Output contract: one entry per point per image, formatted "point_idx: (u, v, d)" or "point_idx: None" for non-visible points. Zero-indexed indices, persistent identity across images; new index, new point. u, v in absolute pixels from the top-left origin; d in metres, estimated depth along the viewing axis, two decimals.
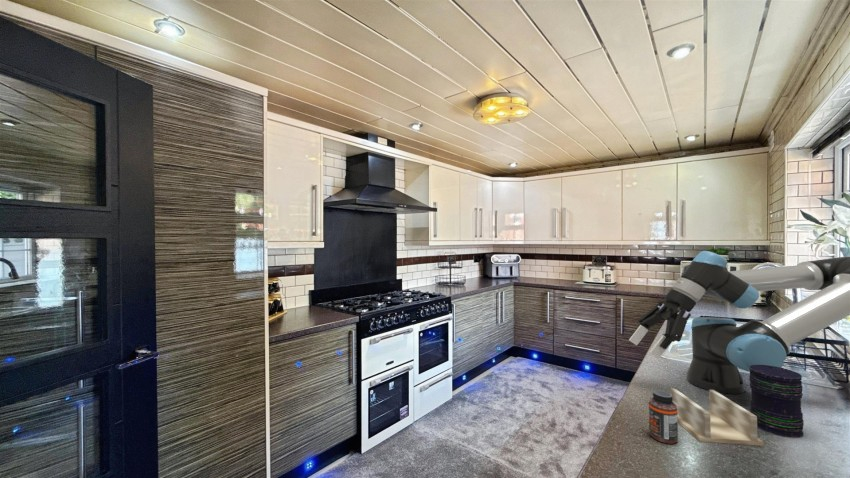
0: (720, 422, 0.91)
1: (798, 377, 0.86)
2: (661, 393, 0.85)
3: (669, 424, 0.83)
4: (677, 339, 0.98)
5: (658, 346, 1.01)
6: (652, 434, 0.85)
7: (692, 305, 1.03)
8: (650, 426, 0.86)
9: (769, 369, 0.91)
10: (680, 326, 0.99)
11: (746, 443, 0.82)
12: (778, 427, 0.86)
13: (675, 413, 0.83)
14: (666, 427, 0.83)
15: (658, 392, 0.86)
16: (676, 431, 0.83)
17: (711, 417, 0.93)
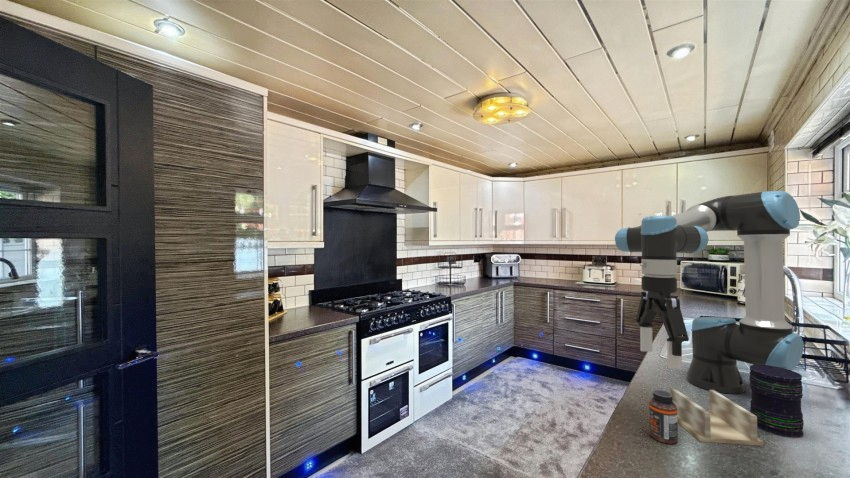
0: (720, 422, 0.91)
1: (798, 377, 0.86)
2: (661, 393, 0.85)
3: (670, 424, 0.83)
4: (684, 339, 0.77)
5: (671, 355, 0.79)
6: (652, 434, 0.85)
7: (674, 284, 0.83)
8: (650, 426, 0.86)
9: (769, 369, 0.91)
10: (678, 321, 0.78)
11: (746, 443, 0.82)
12: (778, 427, 0.86)
13: (675, 413, 0.83)
14: (666, 427, 0.83)
15: (658, 392, 0.86)
16: (676, 431, 0.83)
17: (711, 417, 0.93)
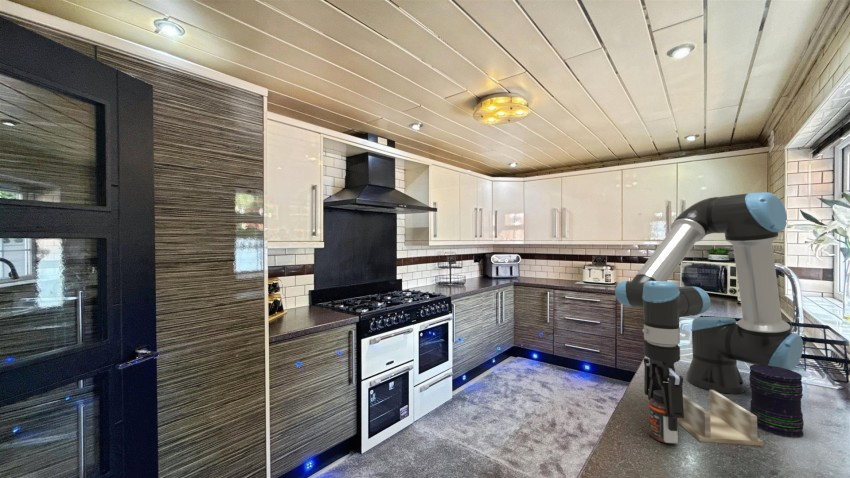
0: (720, 422, 0.91)
1: (798, 377, 0.86)
2: (661, 393, 0.85)
3: None
4: (680, 417, 0.79)
5: (668, 430, 0.82)
6: (651, 434, 0.85)
7: (677, 353, 0.82)
8: (650, 426, 0.86)
9: (769, 369, 0.91)
10: (677, 399, 0.79)
11: (746, 443, 0.82)
12: (778, 427, 0.86)
13: None
14: None
15: (658, 392, 0.86)
16: None
17: (711, 417, 0.93)
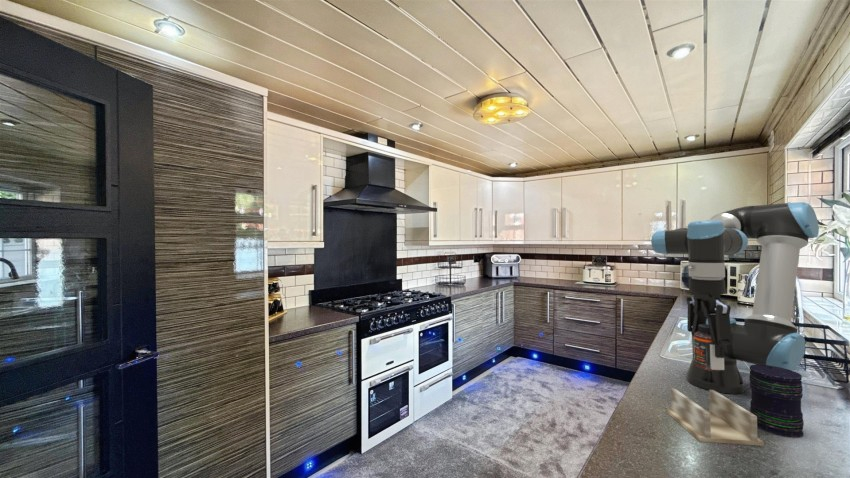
0: (720, 422, 0.91)
1: (798, 377, 0.86)
2: (706, 325, 0.90)
3: None
4: (727, 343, 0.84)
5: (714, 357, 0.87)
6: (697, 364, 0.90)
7: (723, 286, 0.87)
8: (696, 357, 0.91)
9: (769, 369, 0.91)
10: (725, 327, 0.84)
11: (746, 443, 0.82)
12: (778, 427, 0.86)
13: None
14: None
15: (703, 325, 0.91)
16: None
17: (711, 417, 0.93)
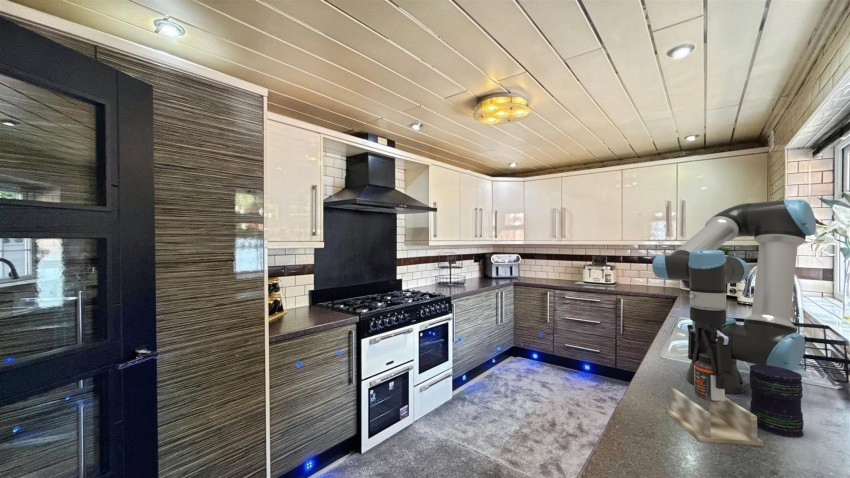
0: (720, 422, 0.91)
1: (798, 377, 0.86)
2: (707, 355, 0.90)
3: None
4: (728, 375, 0.84)
5: (715, 388, 0.87)
6: (698, 394, 0.90)
7: (724, 316, 0.87)
8: (696, 386, 0.91)
9: (769, 369, 0.91)
10: (726, 358, 0.84)
11: (746, 443, 0.82)
12: (778, 427, 0.86)
13: None
14: None
15: (704, 354, 0.91)
16: None
17: (711, 417, 0.93)
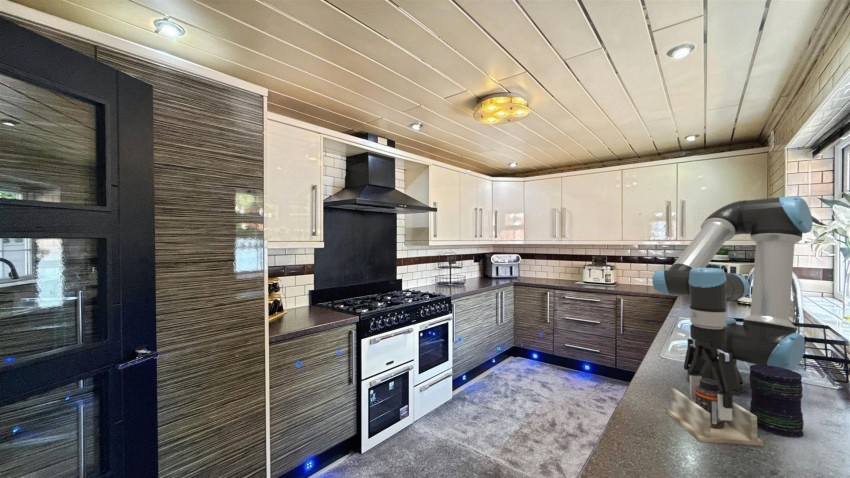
0: None
1: (798, 377, 0.86)
2: (708, 380, 0.90)
3: (717, 409, 0.87)
4: (736, 394, 0.82)
5: (722, 407, 0.84)
6: None
7: (724, 335, 0.87)
8: None
9: (769, 369, 0.91)
10: (730, 376, 0.83)
11: (746, 443, 0.82)
12: (778, 427, 0.86)
13: None
14: (714, 413, 0.87)
15: (705, 380, 0.91)
16: None
17: None
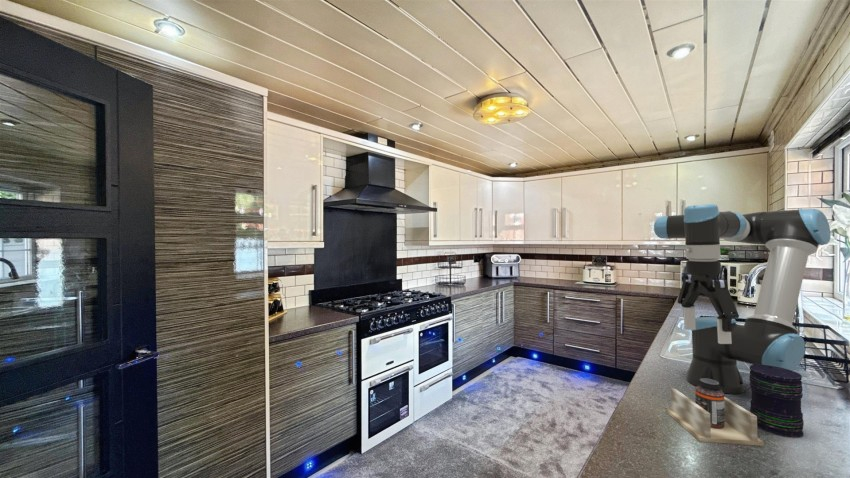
0: None
1: (798, 377, 0.86)
2: (708, 380, 0.90)
3: (717, 409, 0.87)
4: (735, 316, 0.84)
5: (722, 332, 0.87)
6: None
7: (719, 267, 0.91)
8: None
9: (769, 369, 0.91)
10: (727, 300, 0.86)
11: (746, 443, 0.82)
12: (778, 427, 0.86)
13: (722, 399, 0.88)
14: (714, 413, 0.88)
15: (705, 380, 0.91)
16: (723, 416, 0.88)
17: None
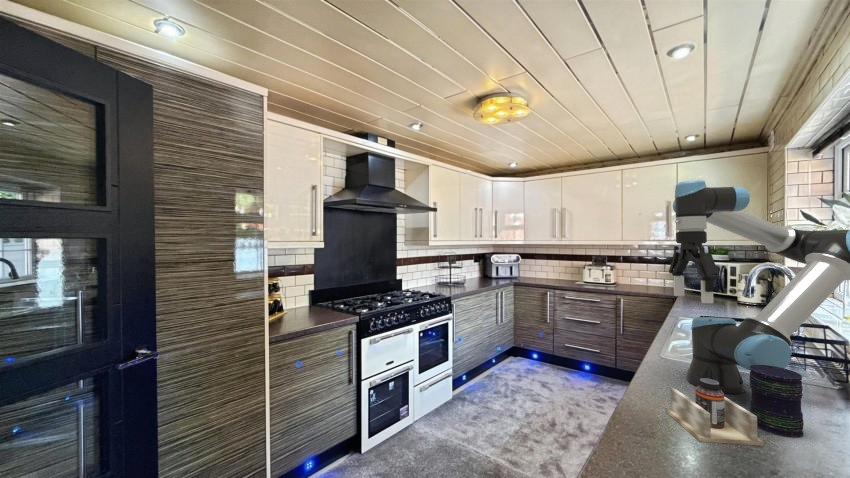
0: None
1: (798, 377, 0.86)
2: (708, 380, 0.90)
3: (717, 409, 0.87)
4: (716, 277, 0.95)
5: (705, 292, 0.98)
6: None
7: (704, 236, 1.02)
8: None
9: (769, 369, 0.91)
10: (710, 263, 0.97)
11: (746, 443, 0.82)
12: (778, 427, 0.86)
13: (722, 399, 0.88)
14: (714, 413, 0.88)
15: (705, 380, 0.91)
16: (723, 416, 0.88)
17: None
